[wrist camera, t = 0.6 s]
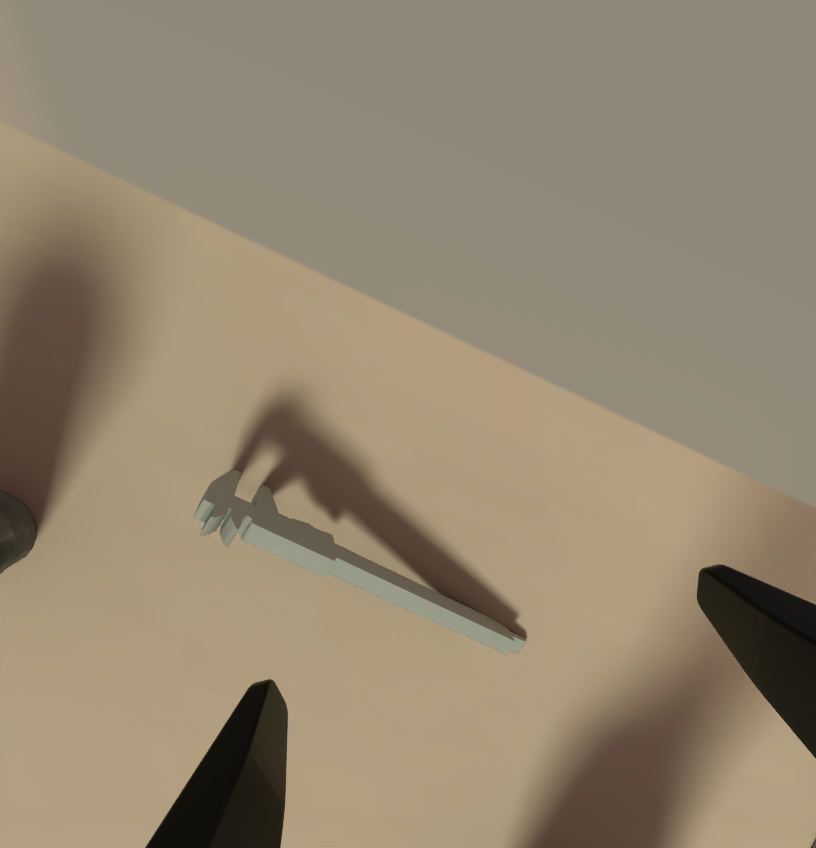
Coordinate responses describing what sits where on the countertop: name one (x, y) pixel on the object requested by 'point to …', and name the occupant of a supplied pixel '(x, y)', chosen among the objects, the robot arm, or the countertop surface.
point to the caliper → (337, 560)
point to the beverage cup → (14, 531)
